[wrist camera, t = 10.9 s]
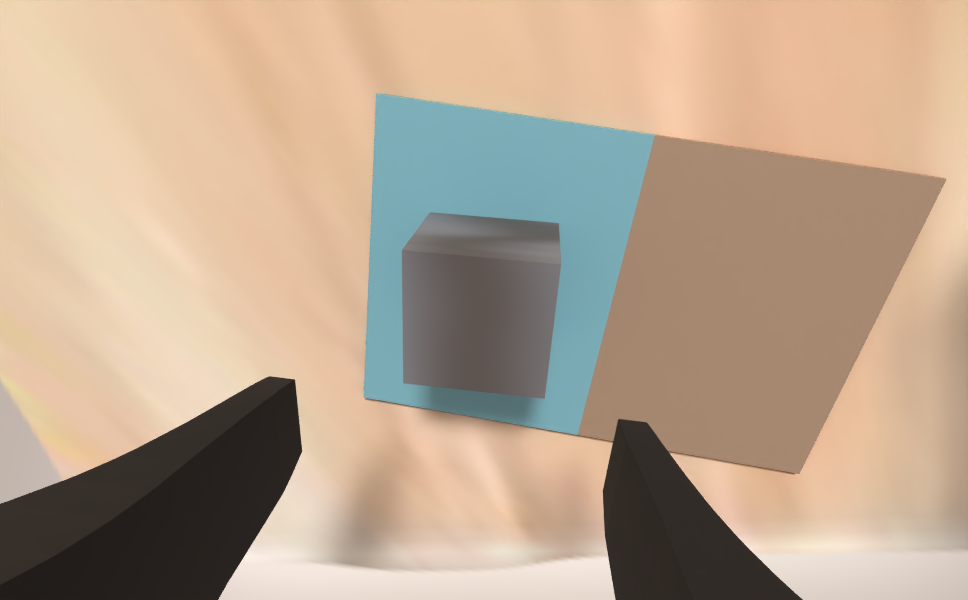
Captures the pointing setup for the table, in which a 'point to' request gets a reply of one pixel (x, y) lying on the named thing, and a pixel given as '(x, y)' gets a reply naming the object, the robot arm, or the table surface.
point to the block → (480, 303)
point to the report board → (653, 273)
